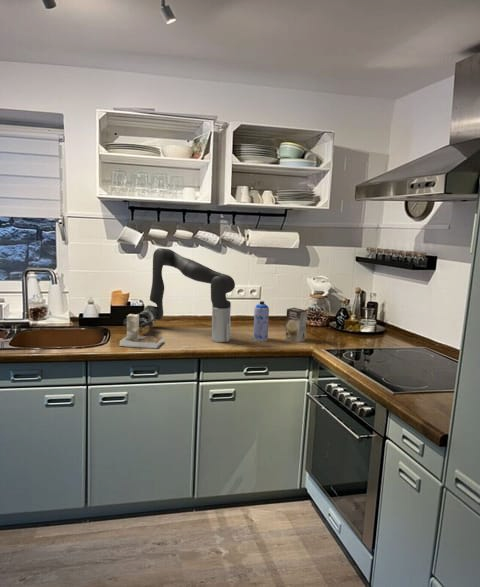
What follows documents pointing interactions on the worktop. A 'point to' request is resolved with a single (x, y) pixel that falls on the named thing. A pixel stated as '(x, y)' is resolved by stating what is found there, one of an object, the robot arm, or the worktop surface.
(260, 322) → the aerosol can
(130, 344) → the grey flat block
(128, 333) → the peg
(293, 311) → the coffee box
